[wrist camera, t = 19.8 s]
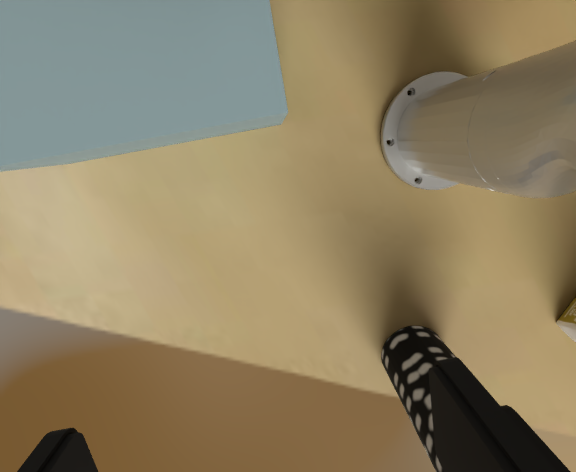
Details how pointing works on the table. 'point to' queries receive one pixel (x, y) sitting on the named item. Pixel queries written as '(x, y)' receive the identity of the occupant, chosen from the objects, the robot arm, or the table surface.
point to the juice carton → (569, 320)
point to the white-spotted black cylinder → (415, 377)
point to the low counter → (132, 76)
